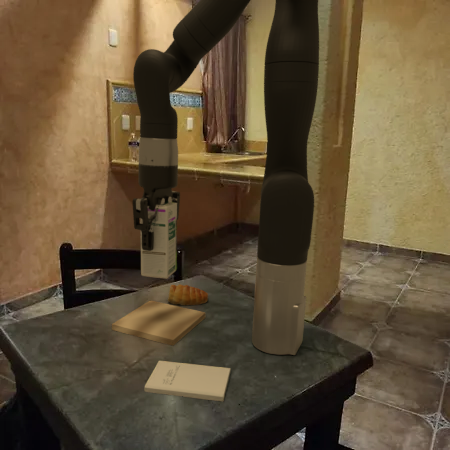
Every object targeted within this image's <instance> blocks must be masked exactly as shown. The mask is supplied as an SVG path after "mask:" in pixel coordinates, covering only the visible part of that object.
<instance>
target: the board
mask: <svg viewBox="0 0 450 450" xmlns="http://www.w3.org/2000/svg"><path fill="white" fill-rule="evenodd" d="M206 316H207V315H206V312H204V311H199V310H196V309H190V308H186V307H182V306H178V305H175V304H170V303H169V304H168V303H164V302H159V301H156V300H155V301H154V300H149V301H147V302H145V303H144V304H141V306H139V307H137V308H135V309H134V310H132V311H131V312H129V313H128V314H126V315H124V316H123V317H121V318H119V319H118V320H116V321H115V322H113V323H111V331H116V332H118V333H123V334H127V335H130V336H133V337H134V336H135V337H138V338H142V339H145V340H149V341H154V342H157V343H161V344H165V345H168V346H175V345H177V343H178V342H179V341H181V340H182V339H183V338H184V337H185V336H187V335H188V334H189V333H190V332H191V331H192V330H193V329H195V328H196V327H197V326H198V325H199V324H201V322H203V320H205V319H206Z"/></svg>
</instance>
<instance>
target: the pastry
mask: <svg viewBox="0 0 450 450" xmlns="http://www.w3.org/2000/svg"><path fill="white" fill-rule="evenodd" d="M208 300H209V293H208V292H206V291H204V290H203V289H200V288H198V287H196V286H195V287H194V286H190V285H188V284H185V285H183V284H177V285H176V284H171V285H170V287H169V291H168V297H167V301H168V302H169V304H171V305H174V306H178V305H181V306H199V305H201V304H206V303H207V302H208Z"/></svg>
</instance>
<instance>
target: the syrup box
mask: <svg viewBox="0 0 450 450" xmlns="http://www.w3.org/2000/svg"><path fill="white" fill-rule="evenodd" d="M158 206H159V207H158ZM156 208H159V210H158V221H156V223H155V227H154V230H153V232H154V249H153V250H151V251H147V250H143V249H142V232H141V231H140V273H141V274H140V275H141V276H142V277H148V278H158V279H165V280H166V279H167V280H168V279H169V278H170V277H171V276H172V275H173V274H174V273H175V272H176V271H177V269H178V263H177V262H178V261H177V260H178V259H177V257H178V256H177V255H178V252H177V251H178V220H177V203H175V202H172V203H164V205H156V207H155V210H156ZM155 210H154V211H152V210H150V209H149V208H148V215H154V214H155ZM139 220H140V223H141V220H142V218H139ZM150 221H151V220H148V224H150Z"/></svg>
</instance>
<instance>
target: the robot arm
mask: <svg viewBox="0 0 450 450" xmlns="http://www.w3.org/2000/svg"><path fill="white" fill-rule="evenodd" d="M251 1H252V0H199V1H198V2H197V3H196V4H195V5H194V6H193V7H192V9H190V10H189V12H188V13H186V15H184V17H183V18H182V19H181V20H180V21H179V22H178V23H177V24H176V26H175V27H174V28H173V31H172V38H173V41H171V43H170V45H169V46H168V47H167V49H166V50H165V51H164V52H163V51H161V50H158V49H155V48H152V49H151V48H149V49H145V50H144V51H142V52H141V53H140V54H138V56H137V58H136V60H135V62H134V67H133V76H132V77H133V85H134V90H135V95H136V101H137V107H138V109H139V113H140V118H139V119H140V120H139V122H140V123H139V142H138V143H139V146H138V172H137V173H138V174H137V175H138V180H137V181H138V185H139V187H141V188H143V193H142V197H141V198H135V197H134V198H133V199H132V213H133V214H132V216H133V229H135V230H139V231H140V233H141V232H142V249H143V250H147V251H151V250H153V249H154V232H153V230H154V227H155V223H156V221H158V210H159V208H156V210H155V207H156V205H164V203H172V202H175V203H177V221H178V220H179V216H180V215H179V213H180V201H181V192H180V191H176V190H175V191H174V190H172V189H175V188H177V187H178V178H179V171H178V170H179V146H178V145H179V144H178V129H179V127H178V124H179V123H178V121H179V120H178V114H177V111H176V109H175V108H174V107H173V106H172V104H171V94H172V93H174V92H175V91H177V90H179V89H180V88H181V87H182V86H183V85H184V84H185V83H186V82H187V81H188V80H189V78H190V77H191V75H192V74H193V73H194V71H195V70H196V68H197V67H198V66H199V64H200V62H201V60H202V59H203V58H204V57H205V56H206V55H207V54H209V52H210V51H212V49H214V48H215V46H217V45H218V44H219V43H220V42H221V41H222V40H223V39H224V38H225V37H226V36H227V34H229V32H230V31H231V30H232V28H233V27H234V26H235V24H236V23H237V22H238V20H239V19H240V17H241V16H242V14H243V13H244V11H245V9H247V7H248V5H249V3H250V2H251ZM274 5H275V6H274V13H273V18H272V22H271V26H270V30H269V34H268V38H267V42H266V46H265V55H264V66H263V67H264V68H263V69H264V71H263V72H264V73H263V100H264V101H263V102H264V103H263V104H264V118H265V127H266V139H267V141H266V146H267V147H266V156H265V157H266V158H265V167H264V174H263V180H262V184H261V189H260V200H259V201H260V204H259V219H258V236H257V237H258V238H257V252H256V253H257V254H256V268H255V269H256V270H255V284H254V296H253V298H254V300H253V318H252V329H251V343H252V345H253V346H254V348H256V349H257V350H259V351H262V352H264V353H267V354H271V355H279V356H280V355H291V356H292V355H293V356H295V355H296V354H297V352H298V350H299V349H300V347H301V345H302V343H303V339H304V338H303V337H304V329H305V316H306V307H307V306H306V305H307V296H306V295H305V286H306V276H307V266H308V265H307V263H308V254H309V250H310V247H311V241H312V231H313V221H314V211H315V194H314V190H313V188H312V186H311V184H310V183H309V177H308V176H309V175H308V141H309V137H310V136H309V135H310V130H311V127H312V123H313V118H314V114H315V113H314V112H315V108H316V103H317V102H316V101H317V95H318V87H319V73H320V71H319V70H320V69H319V67H320V23H319V0H275V4H274ZM158 207H159V206H158ZM148 208H149V209H150V210H152V211H154V210H155V214H154V215H148ZM140 218H142V220H141V223H140ZM148 220H151V221H150V224H148Z"/></svg>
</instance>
